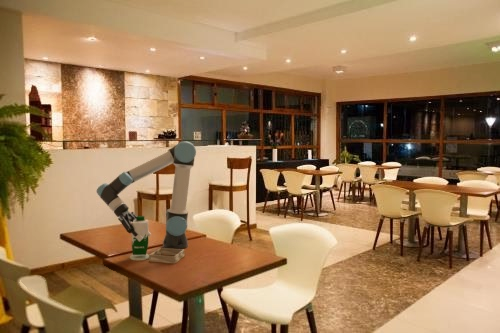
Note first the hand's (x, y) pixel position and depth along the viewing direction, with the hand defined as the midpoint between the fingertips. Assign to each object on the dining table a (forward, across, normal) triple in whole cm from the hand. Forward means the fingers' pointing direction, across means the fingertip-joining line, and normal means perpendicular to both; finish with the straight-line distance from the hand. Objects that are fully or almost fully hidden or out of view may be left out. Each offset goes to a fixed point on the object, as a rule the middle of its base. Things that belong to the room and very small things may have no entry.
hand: (145, 237), depth 211 cm
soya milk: (+4, 0, -9) cm, 10 cm away
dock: (+16, -2, 0) cm, 17 cm away
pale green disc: (+6, 0, -10) cm, 12 cm away
